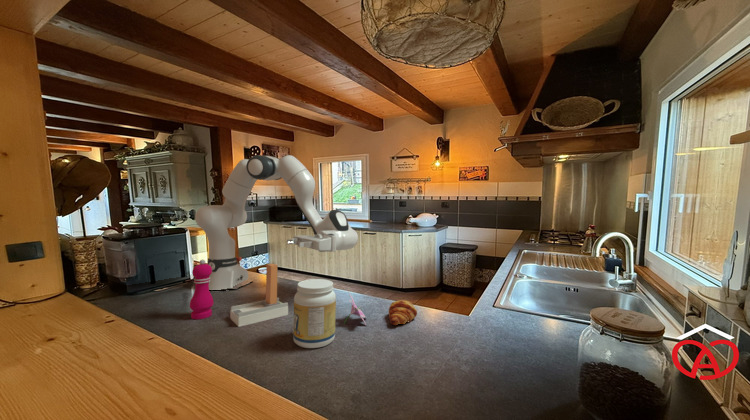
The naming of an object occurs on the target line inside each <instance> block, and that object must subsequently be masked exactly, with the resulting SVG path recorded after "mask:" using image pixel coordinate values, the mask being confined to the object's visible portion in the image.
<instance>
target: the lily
mask: <svg viewBox="0 0 750 420" xmlns="http://www.w3.org/2000/svg"><path fill="white" fill-rule="evenodd" d="M347 293H348V294H349V296H350V298H351V299H349V300H348V301H349V303H350V304H351V309H350V313H349V314H348V315H347V316H346V318H345V320H344V322H343V325H345V324H346V322H347V320H348V319H349V317H350V316H351V315H355V316H358V317H359V318H360V319H361V320H362V321H363V322H364V325H367V323H366V321H365V320H364V318H365V317H366V315H365V314H364V312H363V311H362V306H361V305H359V306H358V305H356V303H355V300H354V298H353V296H352V295H351V293H350V292H349V291H348V292H347ZM365 319H366V318H365Z"/></svg>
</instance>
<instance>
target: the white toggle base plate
mask: <svg viewBox="0 0 750 420" xmlns="http://www.w3.org/2000/svg"><path fill="white" fill-rule="evenodd" d="M263 301H266V299H263V300H258V301H252V302H247V303H243V304H239V305H232V306H230V317H229V318H230V320H231V321H232V322H233V323H234V324H235V325H236V326H237V327H238V328H239V327H243V326H244V327H245V326H247V325H252V324H256V323H261V322H264V321H268V320H272V319H276V318H277V319H278V318H279V317H285V316H288V315H289V303H288V302H282V301H280V297H279V296H277V302H279V303H280V304H277V305H273V306H268V307H266V306H265V305H263Z"/></svg>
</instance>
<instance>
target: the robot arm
mask: <svg viewBox="0 0 750 420" xmlns="http://www.w3.org/2000/svg"><path fill="white" fill-rule="evenodd" d="M313 176H314V175H312V173H311V172H310V171H309V170H308V168H307V167H306V166H305V165H304V164H303V163H302V162H301V161H300V160H299V159H298V158H296V157H295V156H294V155H291V154H290V155H289V154H288V155H287V154H286V155H284V156H282V157H281V158H279V157H275V156H272V155H262V154H259V155H253V156H251V157H250V158H249V159H247V158H242V159H241V160H239V161H238V163H237V164H236V165H235V167H234V168H233V169H232V171H231V172H230V174H229V176H228V178H227V180H226V182H225V184H224V186H223V188H222V190H221V193H222V195H223V197H224V202H223V204H222V205H219V204H213V205H212V204H211V205H206V206H201V207H200V208H198V209H197V211H196V212H195V216H194V219H195V223H196V225H197V226H198V227H199V228H201V229H202V230H203V232H204V234H205V235H206V239H207V243H208V258H207V264H208V265H210V266H211V268H212V273H211V275H210V276H209V277H210V282H209V290H221V289H227V288H233V286H235V285H237V284H239V283H241V282H243V281H245V280H247V279H248V278H249V271H248V270H247V269H246V268H244V267H243V266H241V265H240V264H239V263H238V262H241V261H242V259H243V257H242V256H237V257H236V240H235V239H234V238H233V237H231V236H230V234H229V230H228V229H233V228H237V227H241V226H242V225H244V224H245V223H246V222H247V219H248V214H247V211H246V210H245V209H246V203H247V200H248V197H249V195H250V193H251V192H252V190H253V188H254V186H255V184H256V183H257V181H259V180H260V181H267V182H269V181H278V180H281V179H282V180H283V181H284V182H285V183H286V185H287V186H288V187H289V189H290V190H291V191H292V194H293V195H294V199H295V202H296V205H297V206H298V207H299V210H300V212H301V213H302V214H303V216H304V217H305V219H306V221H307V222H308V224H309V225H310V227H311V230H312V233H313V234H314V235H308V234H305V235H304V234H303V235H302V234H301V235H299V234H298V235H293V237H292V238H288V239H287V240H286V244H287V245H295V246H296V245H297V247H299V248H308V249H310V250H311V249H312V250H315V251H318V252H319V253H329V252H331V253H334V252H336V251H345V250H351V249H353V248H354V247H355V246H356V245H357V244H358V241H359V235H358V233H357V231H356V230H355V229H353V228H352V226H351V225H350V223H349V221H348V218H347V216H346V213H344V212H343V211H341V210H339V209H332V210H330V211H329V212H327V214H326V215H325V216H324V217H323V218H322V216H321V215H320V214H319V212H318V211H317V208H315V206H314V200H313V198H314V192H315V189H316V181H315V178H314V177H313Z"/></svg>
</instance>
